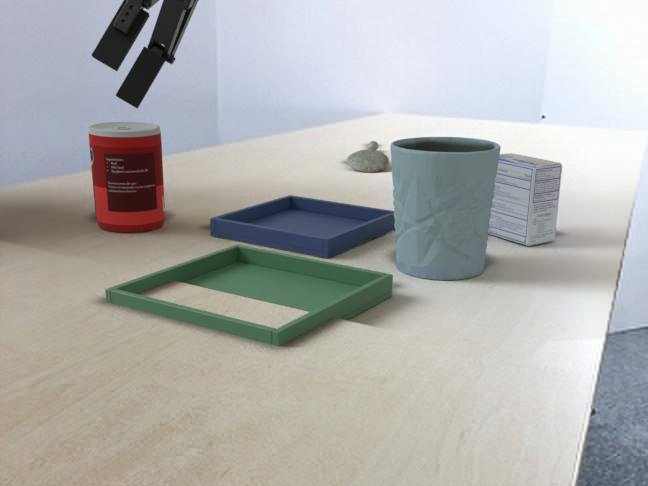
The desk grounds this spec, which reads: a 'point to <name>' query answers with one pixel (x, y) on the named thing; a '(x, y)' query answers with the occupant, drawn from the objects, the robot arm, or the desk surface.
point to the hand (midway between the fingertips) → (116, 84)
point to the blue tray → (304, 225)
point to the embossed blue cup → (443, 204)
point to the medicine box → (525, 199)
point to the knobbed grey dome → (368, 159)
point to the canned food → (127, 176)
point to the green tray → (262, 290)
